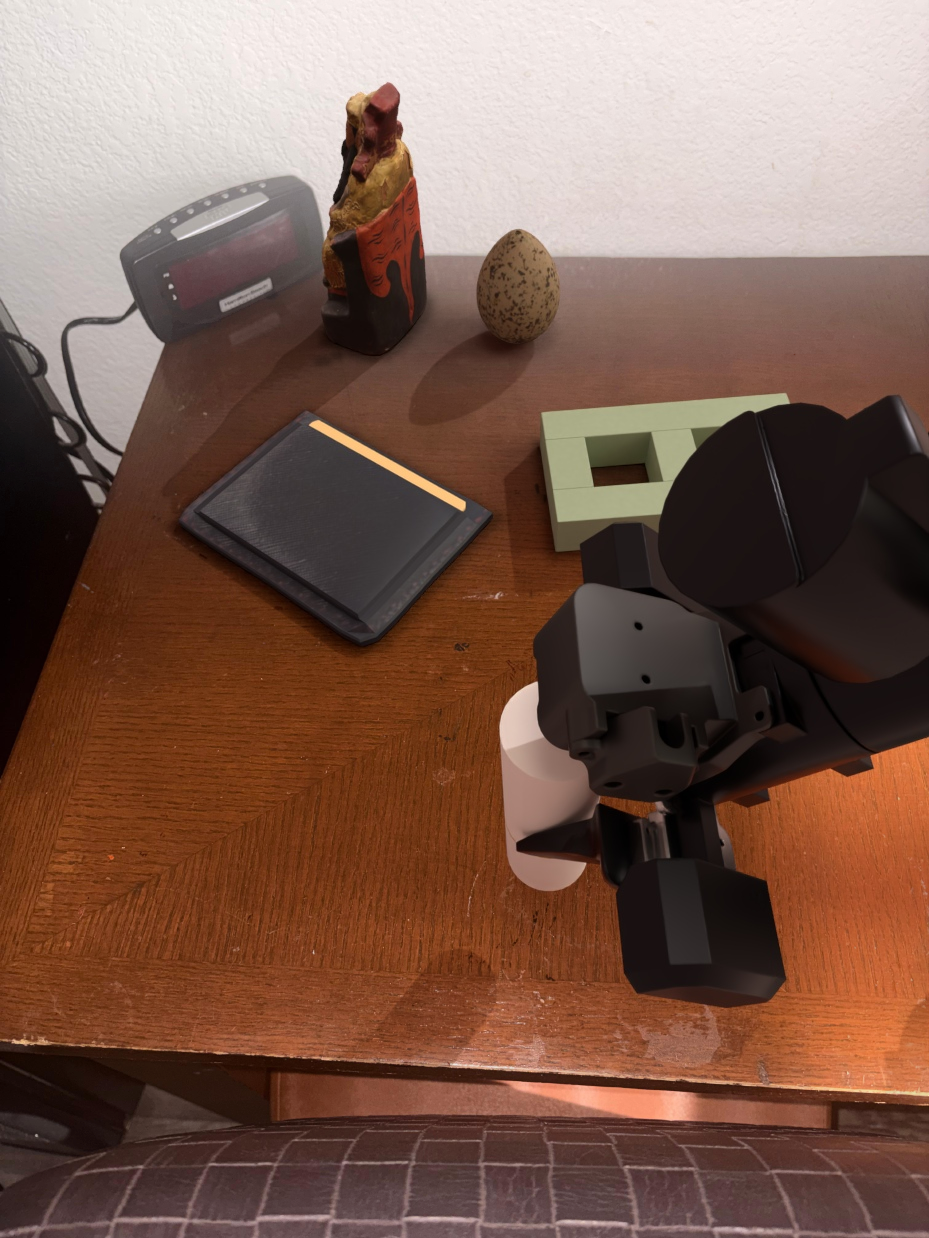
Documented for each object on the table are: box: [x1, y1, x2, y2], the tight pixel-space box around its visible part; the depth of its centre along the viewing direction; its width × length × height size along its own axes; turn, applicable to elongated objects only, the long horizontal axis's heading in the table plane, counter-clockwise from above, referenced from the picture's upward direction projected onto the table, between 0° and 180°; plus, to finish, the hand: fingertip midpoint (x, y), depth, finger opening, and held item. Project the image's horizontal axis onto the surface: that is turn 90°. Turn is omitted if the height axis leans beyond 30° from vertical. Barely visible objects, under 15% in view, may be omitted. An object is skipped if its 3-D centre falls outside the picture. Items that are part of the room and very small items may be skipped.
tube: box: [499, 681, 601, 892], centre depth 38 cm, size 4×4×15 cm
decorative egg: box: [475, 228, 561, 344], centre depth 71 cm, size 7×7×10 cm
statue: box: [320, 81, 428, 356], centre depth 69 cm, size 12×8×20 cm, turn 149°
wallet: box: [177, 409, 494, 648], centre depth 64 cm, size 20×2×15 cm
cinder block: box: [539, 392, 791, 553], centre depth 64 cm, size 11×19×4 cm, turn 93°
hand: (520, 799), depth 38 cm, fingers closed on tube, 4 cm apart
